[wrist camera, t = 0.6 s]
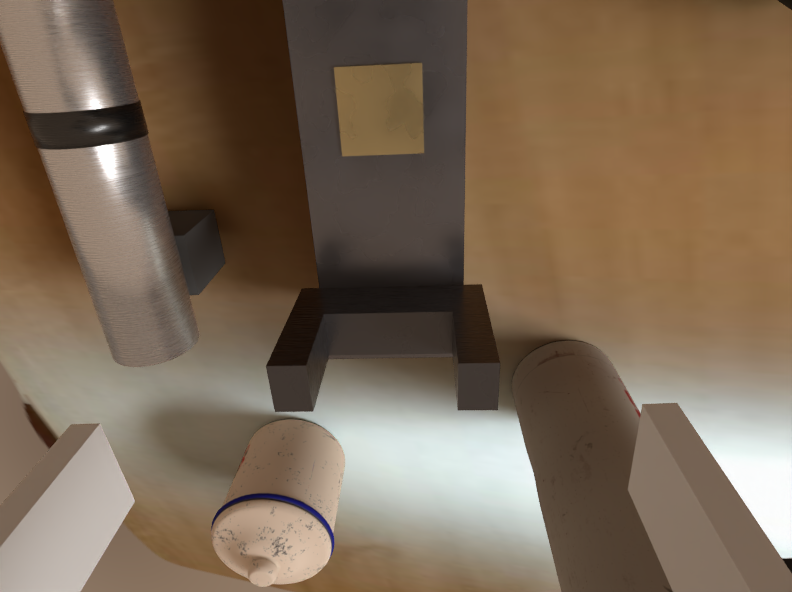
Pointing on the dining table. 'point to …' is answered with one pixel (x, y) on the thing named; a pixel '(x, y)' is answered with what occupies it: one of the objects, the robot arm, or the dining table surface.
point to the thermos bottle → (585, 468)
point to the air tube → (101, 171)
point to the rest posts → (197, 246)
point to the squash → (787, 3)
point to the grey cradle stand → (383, 196)
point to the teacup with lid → (281, 504)
